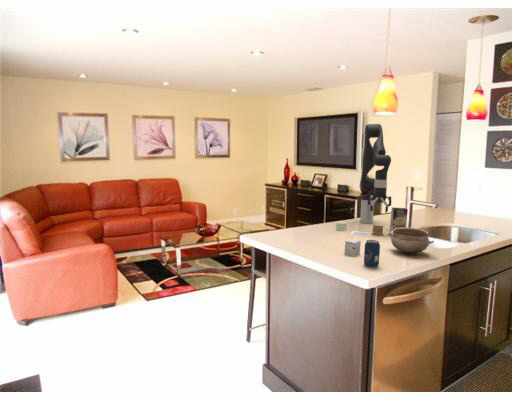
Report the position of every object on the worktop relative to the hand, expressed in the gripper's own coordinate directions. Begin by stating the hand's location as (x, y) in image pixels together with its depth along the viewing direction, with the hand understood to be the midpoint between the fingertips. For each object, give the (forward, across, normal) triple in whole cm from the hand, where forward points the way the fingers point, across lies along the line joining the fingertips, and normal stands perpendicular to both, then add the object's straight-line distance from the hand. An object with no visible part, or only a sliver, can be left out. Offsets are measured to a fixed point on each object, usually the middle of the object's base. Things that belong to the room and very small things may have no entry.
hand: (378, 211), depth 250 cm
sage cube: (+15, +24, -3) cm, 29 cm away
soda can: (+15, -6, +69) cm, 71 cm away
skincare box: (+15, +6, +53) cm, 56 cm away
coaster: (+15, 0, 0) cm, 15 cm away
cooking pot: (+15, -21, +36) cm, 44 cm away
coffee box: (+16, -11, -17) cm, 25 cm away
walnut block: (+15, 0, 0) cm, 15 cm away
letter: (+15, +10, +2) cm, 18 cm away
